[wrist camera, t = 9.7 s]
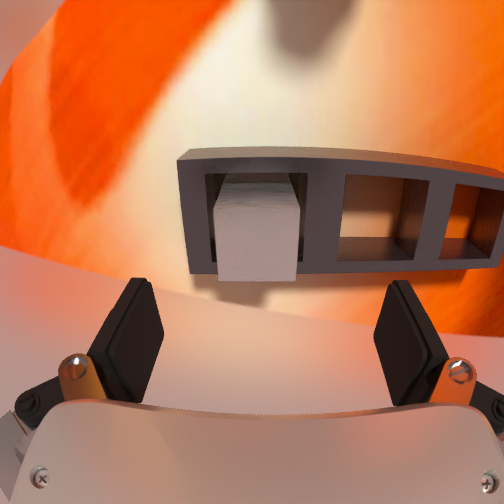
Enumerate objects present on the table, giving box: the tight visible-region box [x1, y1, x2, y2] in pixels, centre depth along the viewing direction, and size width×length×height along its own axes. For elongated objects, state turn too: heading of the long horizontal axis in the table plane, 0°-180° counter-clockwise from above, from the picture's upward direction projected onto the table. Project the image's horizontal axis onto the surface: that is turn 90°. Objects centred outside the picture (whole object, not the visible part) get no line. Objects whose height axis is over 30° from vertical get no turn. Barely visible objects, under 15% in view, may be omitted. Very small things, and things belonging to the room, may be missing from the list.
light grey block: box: [213, 172, 300, 281], centre depth 20 cm, size 4×4×8 cm
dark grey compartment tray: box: [177, 147, 504, 274], centre depth 22 cm, size 28×8×4 cm, turn 91°
